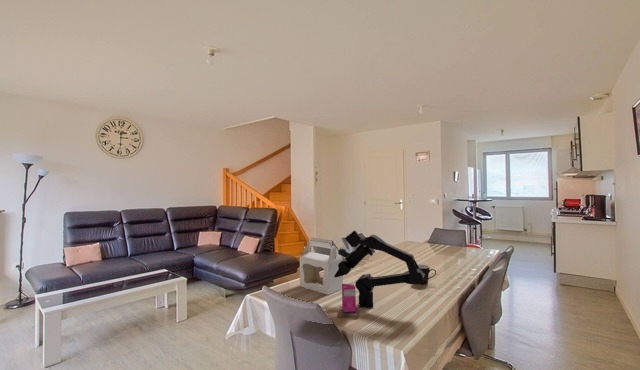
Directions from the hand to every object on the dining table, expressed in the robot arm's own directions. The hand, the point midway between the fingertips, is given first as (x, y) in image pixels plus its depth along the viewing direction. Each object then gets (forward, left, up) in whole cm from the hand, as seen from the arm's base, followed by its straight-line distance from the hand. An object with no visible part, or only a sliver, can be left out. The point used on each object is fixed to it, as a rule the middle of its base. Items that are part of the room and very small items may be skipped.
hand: (337, 274), depth 152 cm
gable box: (+12, -19, -14) cm, 26 cm away
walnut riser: (-6, +14, -14) cm, 21 cm away
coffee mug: (-48, -35, -14) cm, 61 cm away
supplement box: (-6, +14, -12) cm, 20 cm away
